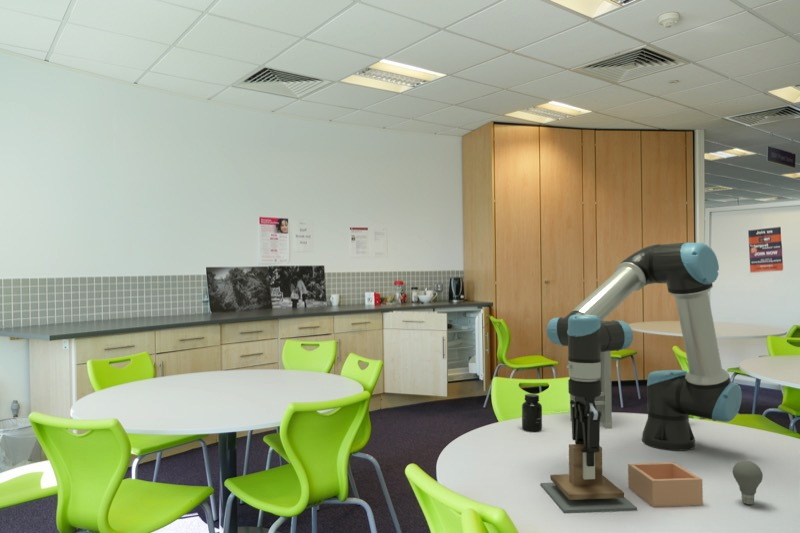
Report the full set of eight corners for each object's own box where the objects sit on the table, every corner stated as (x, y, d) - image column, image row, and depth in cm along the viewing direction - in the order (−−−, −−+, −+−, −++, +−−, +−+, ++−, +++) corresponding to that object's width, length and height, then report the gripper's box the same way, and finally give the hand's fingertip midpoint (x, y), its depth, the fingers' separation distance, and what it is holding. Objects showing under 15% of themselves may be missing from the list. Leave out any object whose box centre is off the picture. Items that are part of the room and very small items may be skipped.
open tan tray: (674, 486, 143) (673, 462, 143) (702, 505, 131) (702, 479, 131) (628, 487, 142) (628, 463, 142) (652, 507, 130) (652, 480, 130)
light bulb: (727, 499, 134) (726, 457, 134) (751, 498, 135) (750, 456, 135) (744, 509, 128) (744, 465, 128) (769, 508, 129) (768, 464, 129)
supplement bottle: (542, 432, 192) (542, 397, 192) (522, 431, 194) (521, 396, 194) (541, 427, 199) (541, 393, 199) (521, 426, 200) (521, 392, 201)
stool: (563, 418, 211) (562, 325, 211) (605, 418, 210) (603, 325, 211) (574, 430, 195) (573, 329, 196) (619, 430, 195) (618, 329, 195)
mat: (605, 483, 145) (605, 480, 145) (637, 510, 128) (637, 507, 128) (540, 485, 144) (540, 482, 144) (564, 512, 127) (564, 510, 127)
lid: (600, 478, 143) (600, 437, 143) (624, 497, 130) (623, 453, 130) (550, 479, 142) (550, 439, 142) (569, 499, 129) (568, 455, 129)
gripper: (557, 373, 145) (558, 465, 144) (582, 385, 128) (583, 488, 128) (586, 372, 145) (587, 464, 145) (614, 384, 129) (615, 487, 128)
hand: (585, 475), depth 136 cm, fingers closed on lid, 3 cm apart
